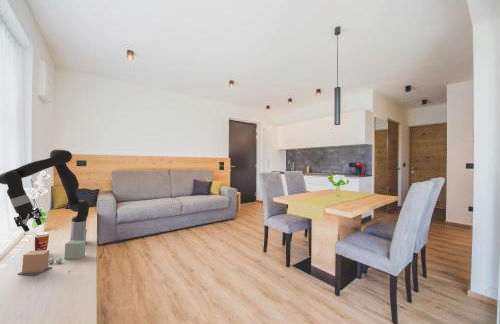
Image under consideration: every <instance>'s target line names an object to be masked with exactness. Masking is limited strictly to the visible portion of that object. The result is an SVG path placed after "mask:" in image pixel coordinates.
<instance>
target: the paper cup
mask: <svg viewBox="0 0 500 324" xmlns="http://www.w3.org/2000/svg"><path fill="white" fill-rule="evenodd" d="M50 235H51V234H50V232H49V231H41V232H37V233H35V234H34V235H33V236H34V251H42V250H48V246H49V238H50Z"/></svg>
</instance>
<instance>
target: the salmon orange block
mask: <svg viewBox="0 0 500 324" xmlns="http://www.w3.org/2000/svg"><path fill="white" fill-rule="evenodd" d="M49 259H50V250H48V249H47V250H42V251H35V250H30V251H28V252H27V253H24V254H23V256H22V269H21V272H22V273H34V272H42V271H44V270H45V269H46V268H48V267H49V263H48V262H49ZM42 273H43V272H42Z"/></svg>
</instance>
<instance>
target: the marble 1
mask: <svg viewBox="0 0 500 324" xmlns="http://www.w3.org/2000/svg"><path fill="white" fill-rule="evenodd" d="M54 262H56V260H55V258H53V257H52V258H51V257H50V258H49V262H48V264H53V263H54Z"/></svg>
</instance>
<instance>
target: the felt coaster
mask: <svg viewBox="0 0 500 324" xmlns="http://www.w3.org/2000/svg"><path fill="white" fill-rule="evenodd" d="M52 268H53V266H48V268H46V269H45V270H44V271H42V272H34V273H22V271H20V272H18V273H17V275H20V276H31V277H36V276H38V275H41V274H43V273H44V272H47V271H49V270H51V269H52Z"/></svg>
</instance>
